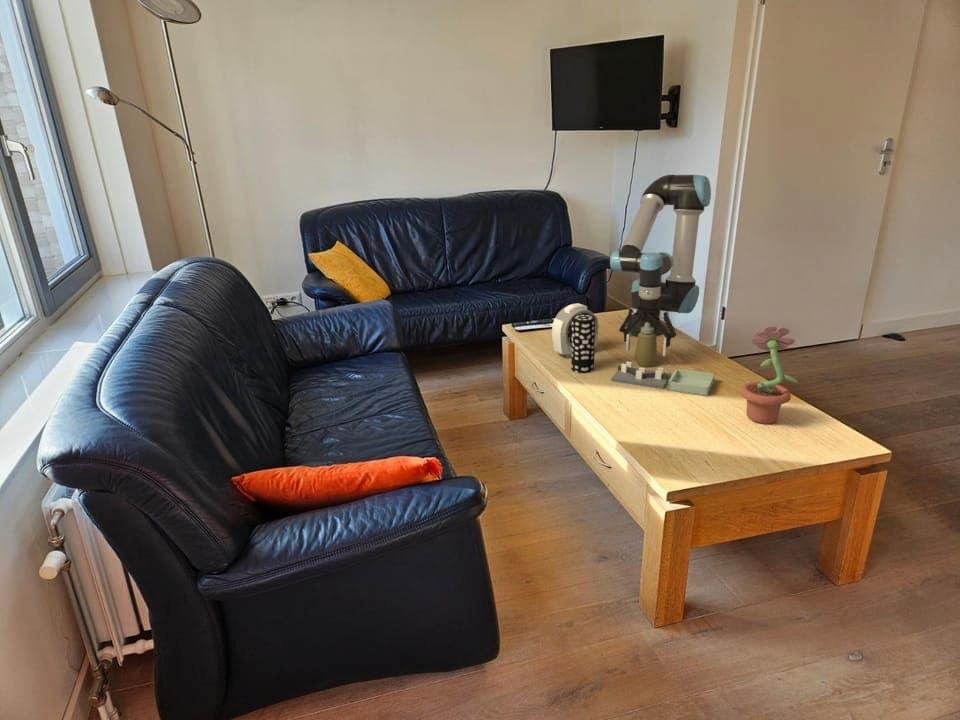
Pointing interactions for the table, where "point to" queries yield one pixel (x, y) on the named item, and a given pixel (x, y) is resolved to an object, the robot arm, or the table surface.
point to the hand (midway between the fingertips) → (646, 352)
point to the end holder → (691, 382)
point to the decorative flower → (768, 394)
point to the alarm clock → (568, 328)
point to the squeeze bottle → (646, 346)
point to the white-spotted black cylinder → (583, 343)
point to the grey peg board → (641, 376)
